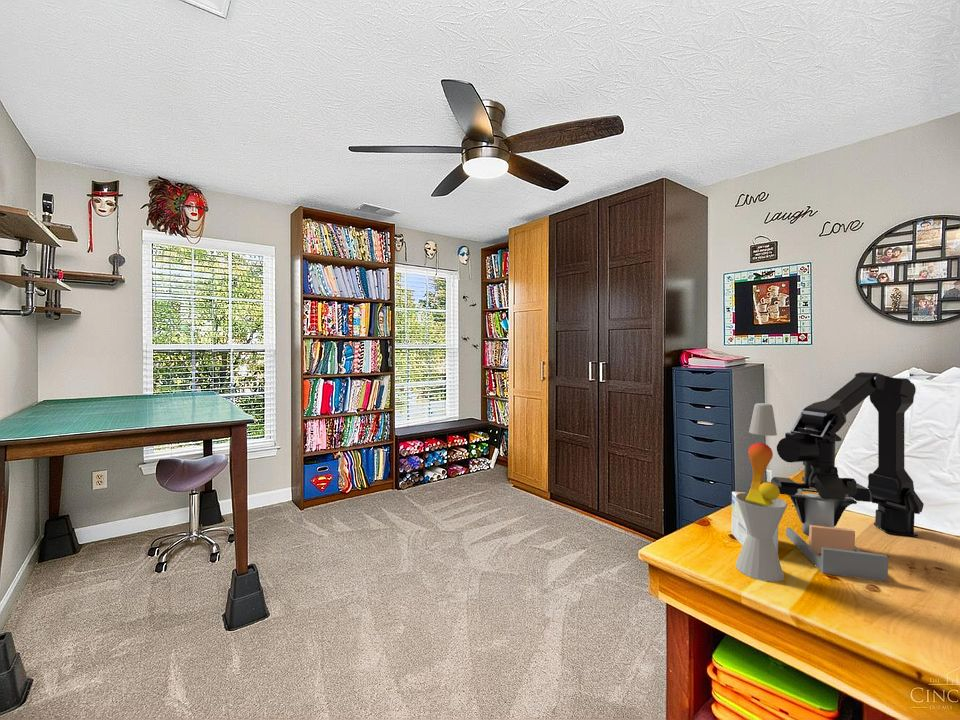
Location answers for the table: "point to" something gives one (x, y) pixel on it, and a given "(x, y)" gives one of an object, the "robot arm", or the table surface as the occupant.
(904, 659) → the table surface
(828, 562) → the pusher lane
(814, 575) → the table surface
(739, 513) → the light bulb box
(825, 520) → the jar
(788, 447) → the robot arm
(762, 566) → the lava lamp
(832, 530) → the plate
